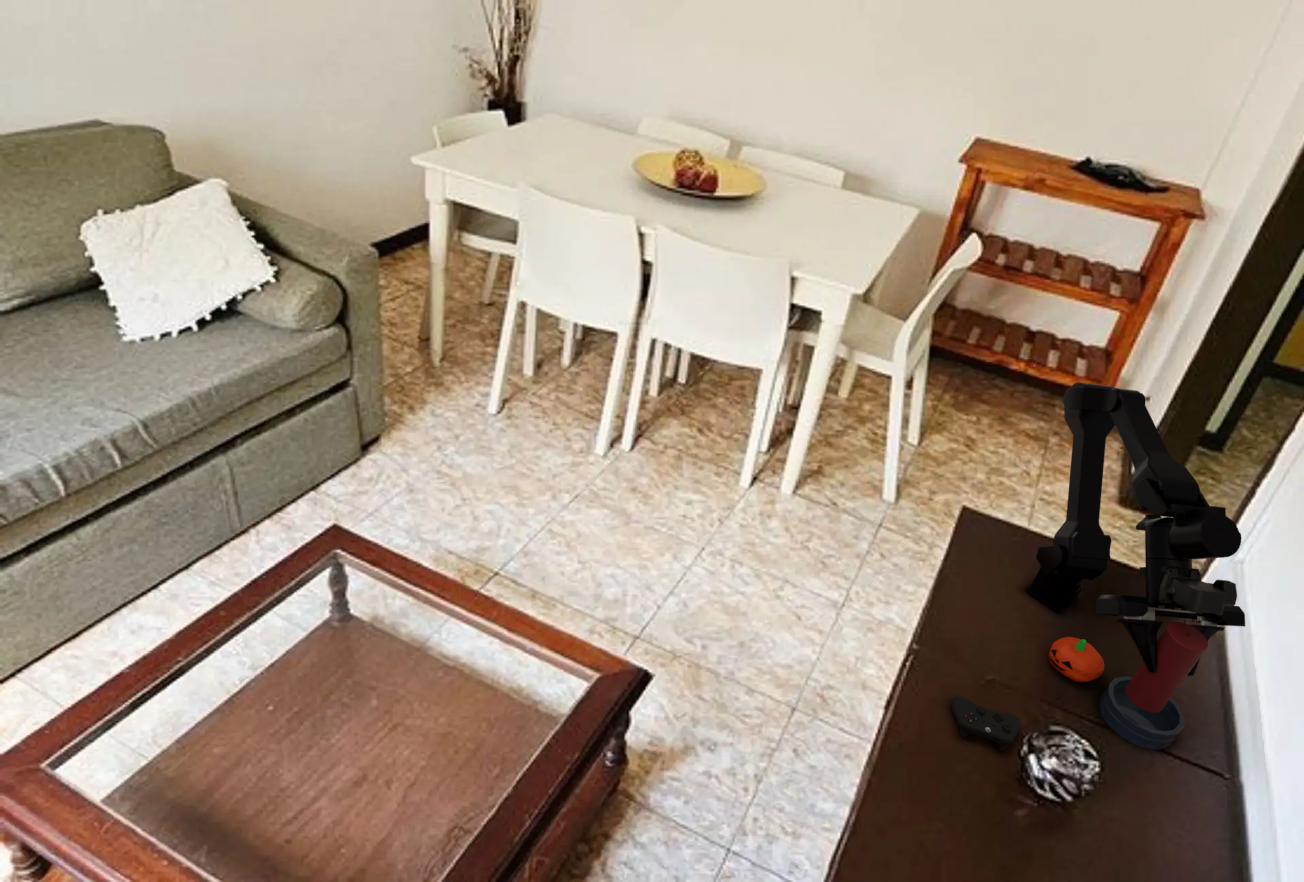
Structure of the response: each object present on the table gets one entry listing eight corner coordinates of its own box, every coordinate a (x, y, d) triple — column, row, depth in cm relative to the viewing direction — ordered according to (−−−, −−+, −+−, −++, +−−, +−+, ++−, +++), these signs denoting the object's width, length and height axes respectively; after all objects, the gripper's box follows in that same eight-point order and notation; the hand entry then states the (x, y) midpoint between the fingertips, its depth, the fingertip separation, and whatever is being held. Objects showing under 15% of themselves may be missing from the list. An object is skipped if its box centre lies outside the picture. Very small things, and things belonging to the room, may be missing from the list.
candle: (1122, 699, 125) (1167, 633, 117) (1128, 677, 129) (1171, 612, 121) (1160, 719, 123) (1208, 653, 115) (1165, 696, 126) (1212, 631, 119)
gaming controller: (1017, 716, 127) (1029, 719, 121) (1008, 753, 126) (1020, 758, 120) (951, 693, 129) (959, 695, 123) (941, 729, 128) (949, 732, 122)
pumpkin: (1092, 697, 133) (1110, 669, 130) (1039, 671, 136) (1056, 643, 133) (1099, 669, 139) (1116, 641, 135) (1048, 645, 142) (1064, 617, 138)
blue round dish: (1086, 712, 131) (1096, 696, 129) (1117, 681, 137) (1127, 666, 135) (1155, 762, 125) (1166, 747, 123) (1184, 728, 131) (1195, 712, 129)
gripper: (1144, 551, 115) (1146, 673, 112) (1275, 565, 117) (1280, 685, 114) (1093, 555, 126) (1094, 666, 123) (1213, 567, 128) (1216, 677, 125)
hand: (1171, 674), depth 121 cm, fingers closed on candle, 5 cm apart
